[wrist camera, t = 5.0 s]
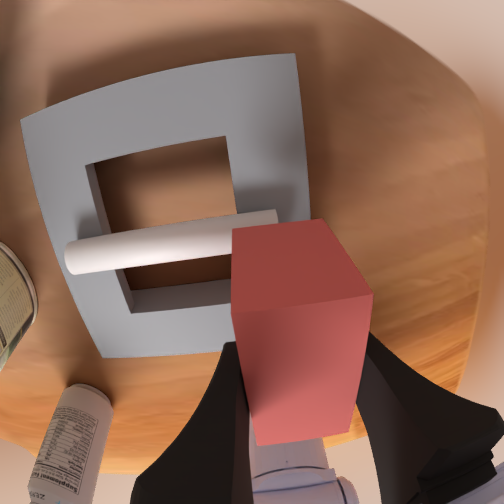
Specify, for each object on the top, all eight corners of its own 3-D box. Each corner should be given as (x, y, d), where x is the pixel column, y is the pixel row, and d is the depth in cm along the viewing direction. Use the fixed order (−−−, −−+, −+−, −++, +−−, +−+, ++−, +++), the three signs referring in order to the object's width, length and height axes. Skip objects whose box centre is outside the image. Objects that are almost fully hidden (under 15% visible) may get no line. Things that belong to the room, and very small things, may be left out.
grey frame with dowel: (306, 313, 24) (320, 358, 20) (112, 333, 24) (95, 376, 20) (285, 61, 16) (303, 46, 12) (44, 115, 16) (0, 123, 12)
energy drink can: (69, 404, 29) (34, 511, 16) (61, 373, 26) (14, 493, 13) (116, 419, 30) (92, 533, 16) (114, 389, 27) (80, 521, 14)
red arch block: (321, 344, 17) (348, 431, 12) (250, 353, 17) (257, 446, 12) (322, 218, 14) (373, 294, 8) (232, 228, 14) (230, 313, 8)
